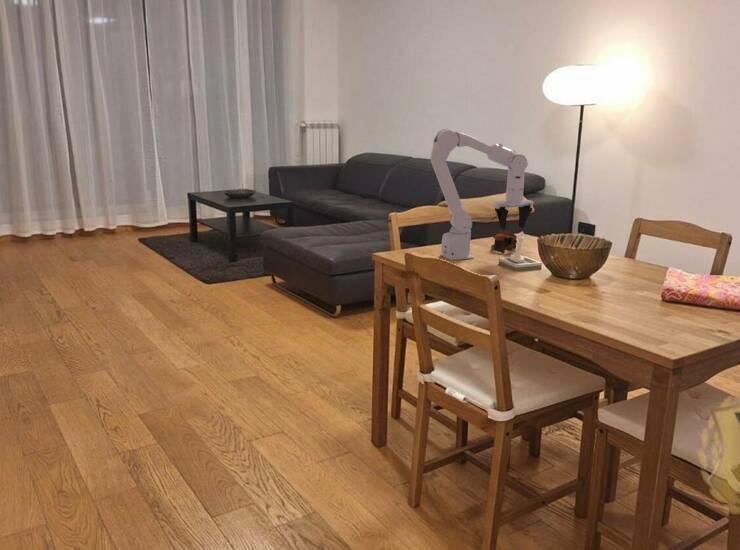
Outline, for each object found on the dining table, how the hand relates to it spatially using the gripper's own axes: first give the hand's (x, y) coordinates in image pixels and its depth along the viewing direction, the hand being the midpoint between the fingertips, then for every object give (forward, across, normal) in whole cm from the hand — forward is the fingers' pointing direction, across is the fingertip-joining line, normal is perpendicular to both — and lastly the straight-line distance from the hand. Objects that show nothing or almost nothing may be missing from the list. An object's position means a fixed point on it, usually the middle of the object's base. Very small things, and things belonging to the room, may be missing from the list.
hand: (512, 228), depth 227 cm
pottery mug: (+11, +4, +9) cm, 14 cm away
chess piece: (+9, -4, -10) cm, 14 cm away
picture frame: (+10, -4, -12) cm, 16 cm away
